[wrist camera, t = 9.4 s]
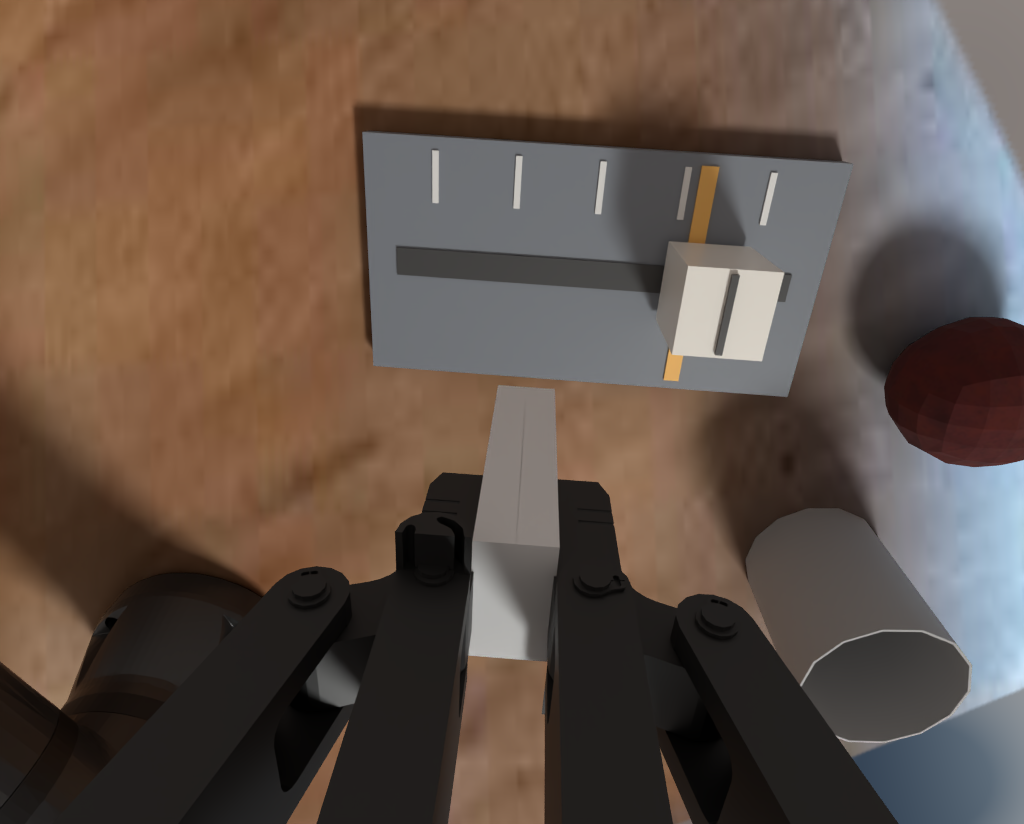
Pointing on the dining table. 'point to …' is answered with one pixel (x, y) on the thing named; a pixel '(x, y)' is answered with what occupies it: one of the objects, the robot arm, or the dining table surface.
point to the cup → (854, 627)
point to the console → (579, 255)
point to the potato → (962, 392)
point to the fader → (717, 300)
